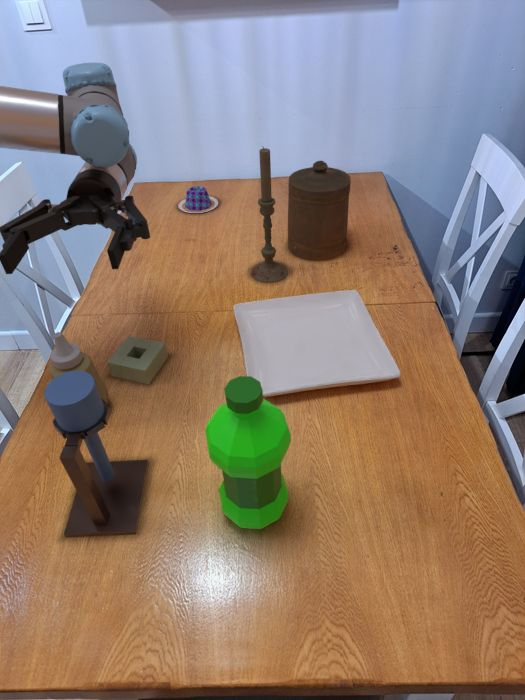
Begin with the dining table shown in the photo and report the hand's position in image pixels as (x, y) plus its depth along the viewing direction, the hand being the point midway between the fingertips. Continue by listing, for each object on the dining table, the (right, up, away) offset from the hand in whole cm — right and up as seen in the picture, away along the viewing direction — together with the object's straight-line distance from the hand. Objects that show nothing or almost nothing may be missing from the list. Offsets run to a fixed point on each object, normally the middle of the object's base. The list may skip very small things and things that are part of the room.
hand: (58, 262), depth 61 cm
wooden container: (+40, +15, +65) cm, 78 cm away
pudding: (+6, +32, +86) cm, 92 cm away
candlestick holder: (+27, +7, +56) cm, 63 cm away
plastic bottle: (+25, -34, +10) cm, 43 cm away
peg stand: (+3, -34, +11) cm, 36 cm away
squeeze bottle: (-5, -22, +25) cm, 34 cm away
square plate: (+35, -11, +35) cm, 51 cm away
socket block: (+2, -14, +33) cm, 36 cm away
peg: (+3, -30, +11) cm, 32 cm away
